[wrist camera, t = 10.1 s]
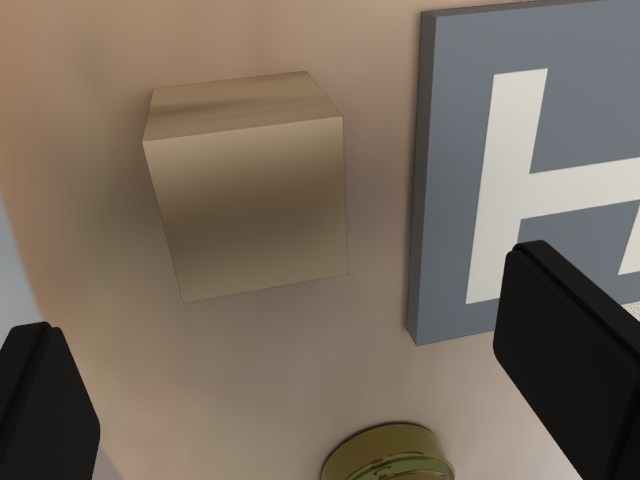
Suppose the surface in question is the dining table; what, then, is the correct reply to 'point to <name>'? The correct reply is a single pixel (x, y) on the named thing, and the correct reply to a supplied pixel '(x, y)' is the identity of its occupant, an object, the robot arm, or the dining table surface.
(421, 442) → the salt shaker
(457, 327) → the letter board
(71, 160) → the dining table surface
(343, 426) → the dining table surface
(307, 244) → the oak block
